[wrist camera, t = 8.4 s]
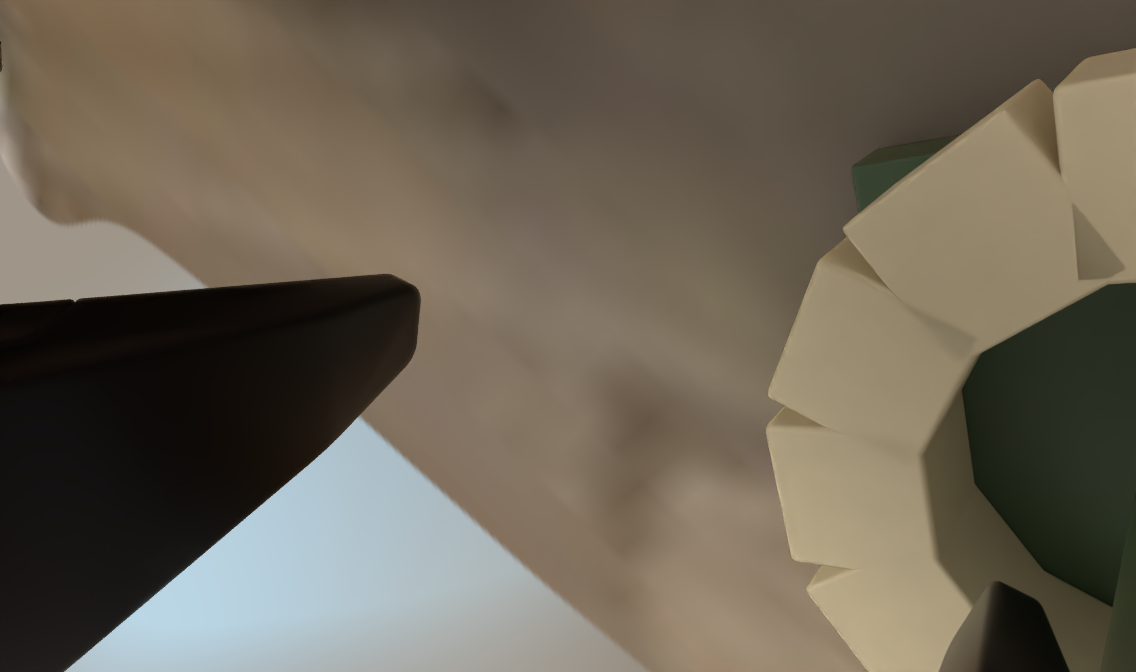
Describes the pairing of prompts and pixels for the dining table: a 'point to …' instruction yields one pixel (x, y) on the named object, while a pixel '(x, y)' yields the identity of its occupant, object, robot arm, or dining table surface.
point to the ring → (946, 366)
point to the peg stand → (1055, 430)
